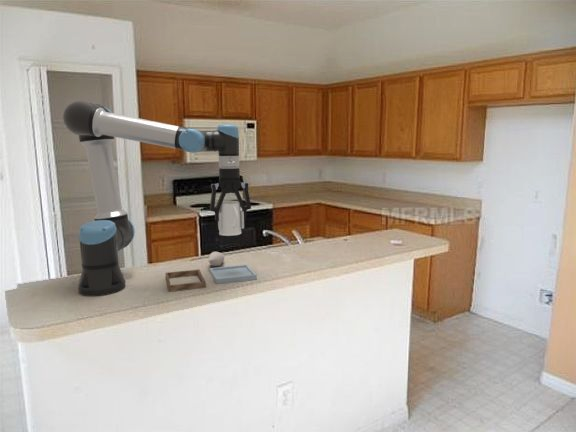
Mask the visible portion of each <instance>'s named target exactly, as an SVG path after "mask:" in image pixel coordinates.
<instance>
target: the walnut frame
mask: <svg viewBox="0 0 576 432" xmlns="http://www.w3.org/2000/svg"><path fill="white" fill-rule="evenodd" d="M190 275H194V276H197V277H198V279H199V281H197V282H188V283H178V284H177V283H175V284H171V281H170V279H174V277H175V278H182V277H181V276H185V277H191V276H190ZM165 280H166V285H167V289H168V290H167V291H168V293H169V292H176V291H177V292H178V291H186V290H194V289H202V288H206V284H207V283H206V280H205V278H204V276H203V274H202V272H201V270H200V269H199V268H198V269H190V270H180V271H178V270H177V271H172V272H171V271H169V272H165Z"/></svg>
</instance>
